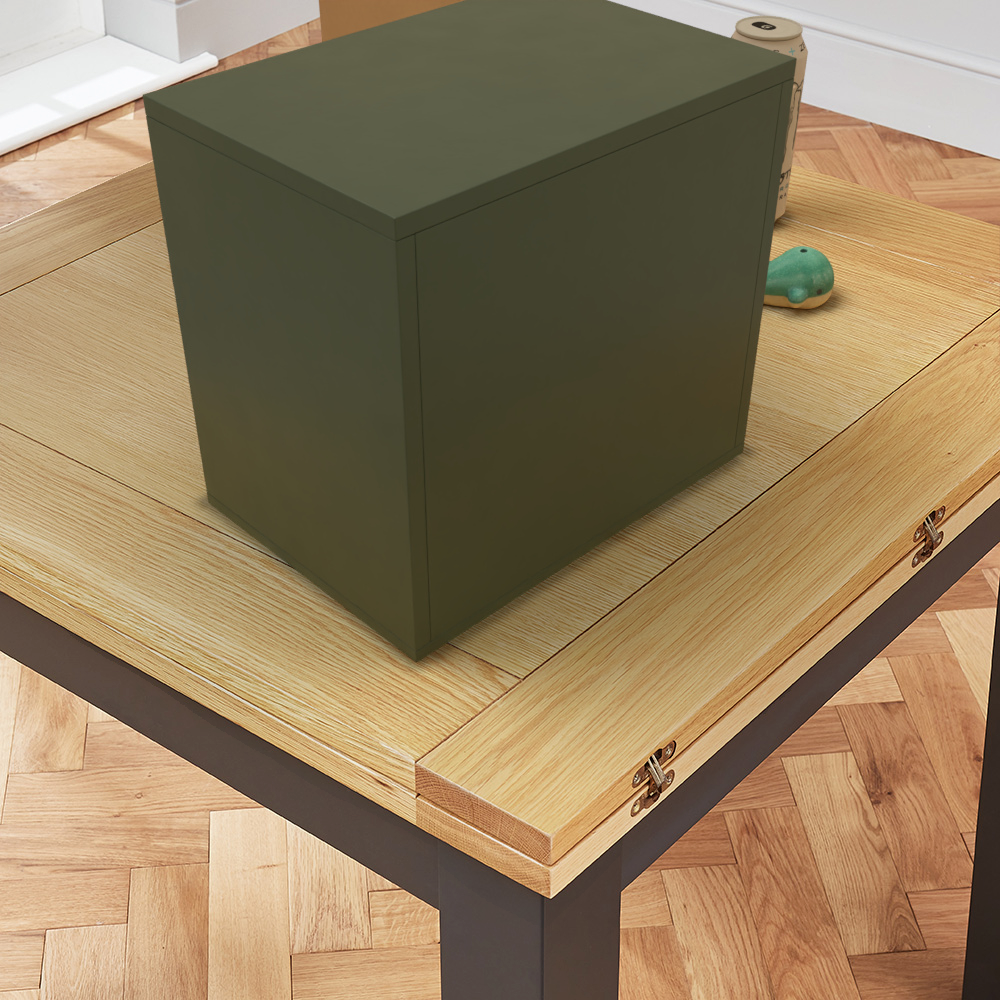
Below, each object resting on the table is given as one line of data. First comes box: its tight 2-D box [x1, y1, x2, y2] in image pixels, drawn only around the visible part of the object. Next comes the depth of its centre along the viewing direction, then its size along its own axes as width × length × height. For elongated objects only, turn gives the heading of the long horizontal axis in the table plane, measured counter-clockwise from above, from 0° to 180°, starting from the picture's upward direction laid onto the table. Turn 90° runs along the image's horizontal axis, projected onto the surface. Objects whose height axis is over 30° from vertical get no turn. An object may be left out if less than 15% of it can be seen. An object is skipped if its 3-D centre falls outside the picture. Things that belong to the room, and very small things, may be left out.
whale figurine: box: [763, 245, 835, 310], centre depth 95 cm, size 6×7×4 cm
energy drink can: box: [730, 15, 809, 222], centre depth 102 cm, size 6×6×15 cm
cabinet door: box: [318, 0, 464, 42], centre depth 94 cm, size 7×26×24 cm, turn 34°
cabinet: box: [142, 0, 797, 663], centre depth 72 cm, size 18×26×24 cm
